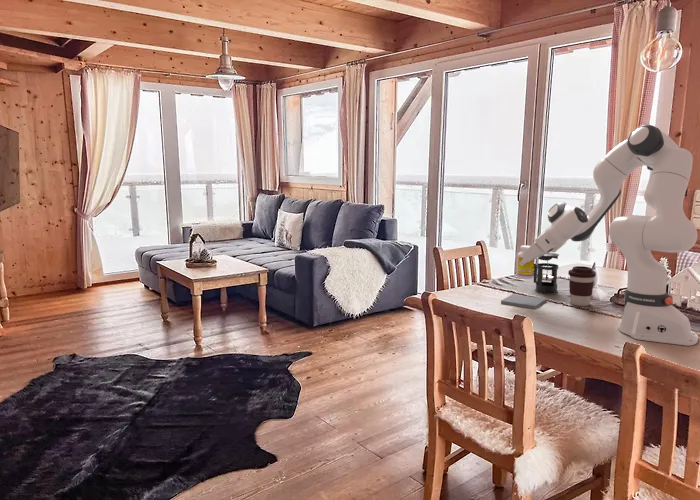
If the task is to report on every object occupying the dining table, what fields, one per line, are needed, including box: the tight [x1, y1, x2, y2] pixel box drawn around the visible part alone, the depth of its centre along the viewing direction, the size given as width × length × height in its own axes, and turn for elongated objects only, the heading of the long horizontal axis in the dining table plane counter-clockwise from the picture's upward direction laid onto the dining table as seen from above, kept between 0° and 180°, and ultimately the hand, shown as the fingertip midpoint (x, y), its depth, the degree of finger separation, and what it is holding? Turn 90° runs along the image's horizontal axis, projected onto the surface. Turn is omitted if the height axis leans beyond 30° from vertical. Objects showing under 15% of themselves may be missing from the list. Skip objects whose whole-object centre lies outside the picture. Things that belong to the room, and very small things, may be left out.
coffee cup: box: [567, 265, 597, 307], centre depth 201 cm, size 10×10×15 cm
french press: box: [533, 252, 560, 295], centre depth 221 cm, size 12×9×23 cm
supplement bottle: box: [516, 244, 536, 280], centre depth 203 cm, size 7×7×13 cm
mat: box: [500, 293, 547, 310], centre depth 206 cm, size 14×13×1 cm
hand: (524, 262), depth 204 cm, fingers closed on supplement bottle, 7 cm apart
